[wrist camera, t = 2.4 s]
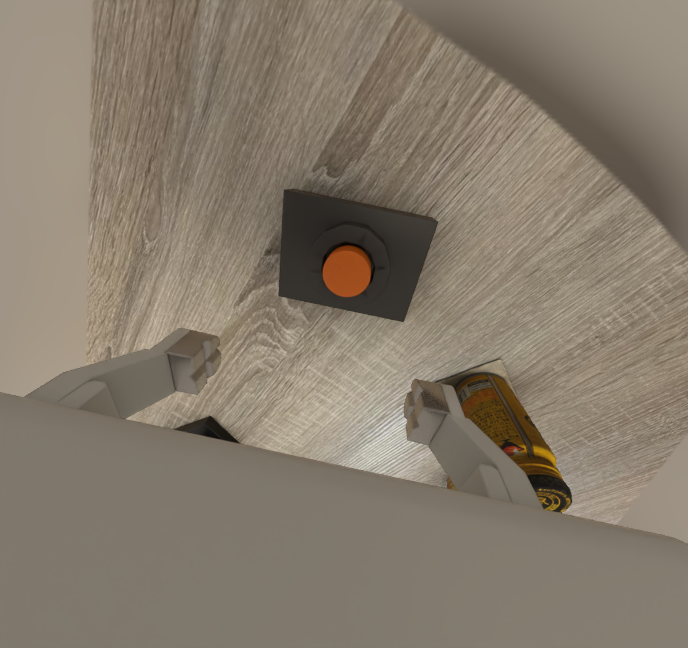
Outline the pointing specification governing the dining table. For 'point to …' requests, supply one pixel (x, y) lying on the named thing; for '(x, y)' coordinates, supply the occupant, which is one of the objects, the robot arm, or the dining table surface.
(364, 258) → the power button
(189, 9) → the dining table surface
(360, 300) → the dark grey button base
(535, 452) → the condiment
